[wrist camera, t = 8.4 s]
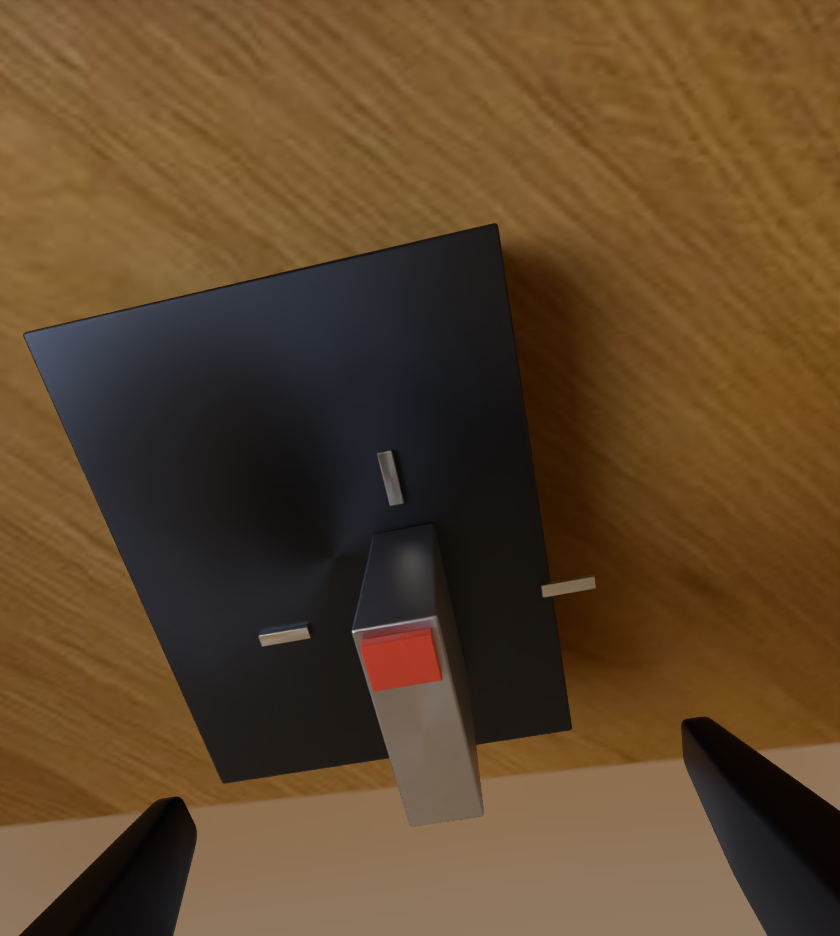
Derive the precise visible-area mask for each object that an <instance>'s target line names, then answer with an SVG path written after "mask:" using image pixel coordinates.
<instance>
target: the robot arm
mask: <svg viewBox="0 0 840 936" xmlns="http://www.w3.org/2000/svg"><path fill="white" fill-rule="evenodd" d="M681 731H682V747H683V758H684V762H685V766H686V769H687V771H688V773H689V776H690V778H691V780H692V782H693V785H694V787H695V789H696V791H697V793H698V796H699V798H700V800H701V803H702V805H703V807H704V809H705V812H706V814H707V816H708V818H709V821H710V823H711V825H712V827H713V830H714V832H715V834H716V836H717V838H718V841H719V843H720V845H721V847H722V849H723V852H724V854H725V856H726V858H727V861H728V863H729V865H730V867H731V869H732V871H733V874H734V876H735V877H736V879H737V881H738V883H739V885H740V887H741V889H742V891H743V893H744V895H745V896H746V898H747V900H748V902H749V903H750V905H751V907H752V909H753V910H754V912H755V914H756V916H757V918H758V920H759V921H760V923H761V925H762V927H763V929H764V930H765V932H766V934H767V936H840V811H839V810H838V809H836V808H835V807H834V806H832V805H831V804H829V803H828V802H827V801H825V800H824V799H822V798H821V797H820V796H818V795H817V794H815V793H814V792H813V791H811V790H810V789H808V788H807V787H805V786H804V785H803V784H801V783H800V782H799V781H797V780H796V779H794V778H793V777H791V776H790V775H789V774H787V773H786V772H785V771H783V770H782V769H780V768H779V767H778V766H776V765H774V764H773V763H772V762H770V761H769V760H768V759H766V758H765V757H764V756H762V755H761V754H759V753H758V752H757V751H755V750H754V749H752V748H751V747H750V746H748V745H747V744H745V743H744V742H743V741H741V740H740V739H738V738H737V737H736V736H734V735H733V734H731V733H730V732H729V731H727V730H726V729H724V728H723V727H722V726H720V725H719V724H717V723H716V722H715V721H713V720H712V719H710V718H708V717H696V718H690V719H685V720H683V721H682V724H681ZM196 839H197V830H196V826H195V824H194V821H193V819H192V817H191V815H190V813H189V811H188V809H187V807H186V805H185V803H184V801H183V799H181V798H180V797H170V798H163V799H159V800H157V801H155V802H154V803H153V804H152V805H151V806H150V807H149V808H148V809H147V810H146V811H145V812H144V813H143V814H142V815H141V816H140V817H139V818H138V819H137V820H136V821H135V822H134V823H132V825H131V826H129V828H127V830H126V831H124V833H122V834H121V835H120V836H119V837H118V838H117V839H116V840H115V841H114V842H113V843H112V844H111V845H110V846H109V847H108V848H107V849H106V850H105V851H104V852H103V853H102V854H101V855H100V856H99V857H98V858H97V859H96V860H95V861H94V862H93V863H92V864H91V865H90V866H89V867H88V868H87V869H86V870H85V871H84V872H83V873H82V874H81V875H80V876H79V877H78V878H77V879H76V880H75V881H74V882H73V883H72V884H71V885H70V886H69V887H68V888H67V889H66V890H65V891H64V892H63V893H62V894H61V895H60V896H59V897H58V898H57V899H56V900H55V901H54V902H53V903H52V904H51V905H50V906H49V907H48V908H47V909H46V910H45V911H44V912H42V913H41V914H40V915H39V916H38V917H37V919H35V920H34V921H33V922H32V923H31V924H30V925H29V926H28V928H26V929H25V930H24V931H23V932H22V933H21V934H20V935H19V936H173V934H174V930H175V926H176V922H177V918H178V914H179V910H180V906H181V902H182V898H183V894H184V890H185V886H186V882H187V878H188V874H189V869H190V866H191V862H192V858H193V853H194V849H195V845H196Z"/></svg>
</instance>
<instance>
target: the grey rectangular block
mask: <svg viewBox="0 0 840 936" xmlns="http://www.w3.org/2000/svg"><path fill="white" fill-rule="evenodd" d="M352 635H353V638H354V641H355V645H356V648H357V651H358V655H359V658H360V661H361V665H362V668H363V671H364V675H365V678H366V681H367V685H368V688H369V691H370V695H371V698H372V701H373V705H374V708H375V711H376V715H377V718H378V721H379V725H380V728H381V731H382V735H383V738H384V741H385V745H386V748H387V751H388V755H389V758H390V761H391V765H392V768H393V771H394V775H395V778H396V781H397V785H398V788H399V791H400V795H401V798H402V801H403V805H404V808H405V811H406V815H407V818H408V821H409V824H410V826H412V827H413V826H420V825H426V824H434V823H441V822H447V821H455V820H462V819H469V818H476V817H482V816H483V815H484V809H483V800H482V793H481V783H480V774H479V766H478V757H477V748H476V740H475V731H474V722H473V714H472V705H471V696H470V688H469V679H468V675H467V670H466V666H465V661H464V657H463V652H462V648H461V643H460V639H459V634H458V629H457V625H456V620H455V616H454V611H453V607H452V602H451V598H450V593H449V589H448V584H447V580H446V575H445V571H444V566H443V562H442V557H441V553H440V548H439V544H438V539H437V535H436V530H435V526H434V524H427V525H422V526H416V527H411V528H406V529H401V530H395V531H390V532H385V533H379V534H375V535H373V539H372V544H371V548H370V553H369V557H368V562H367V566H366V570H365V575H364V579H363V584H362V588H361V592H360V597H359V601H358V606H357V610H356V615H355V619H354V623H353V628H352Z"/></svg>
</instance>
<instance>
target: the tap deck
mask: <svg viewBox="0 0 840 936" xmlns="http://www.w3.org/2000/svg"><path fill="white" fill-rule="evenodd" d="M23 336H24V339H25V341H26V343H27V345H28V348H29V350H30V352H31V354H32V357H33V359H34V361H35V363H36V366H37V368H38V370H39V372H40V375H41V377H42V379H43V381H44V384H45V386H46V388H47V390H48V393H49V395H50V397H51V399H52V402H53V404H54V406H55V408H56V411H57V413H58V415H59V417H60V420H61V422H62V424H63V426H64V429H65V431H66V433H67V435H68V438H69V440H70V442H71V444H72V447H73V449H74V451H75V453H76V456H77V458H78V460H79V462H80V465H81V467H82V469H83V471H84V473H85V476H86V478H87V480H88V482H89V485H90V487H91V489H92V491H93V494H94V496H95V498H96V500H97V503H98V505H99V507H100V509H101V512H102V514H103V516H104V518H105V521H106V523H107V525H108V527H109V530H110V532H111V534H112V536H113V539H114V541H115V543H116V545H117V548H118V550H119V552H120V554H121V557H122V559H123V561H124V563H125V566H126V568H127V570H128V572H129V575H130V577H131V579H132V581H133V584H134V586H135V588H136V590H137V593H138V595H139V597H140V599H141V602H142V604H143V606H144V608H145V611H146V613H147V615H148V617H149V620H150V622H151V624H152V626H153V628H154V631H155V633H156V635H157V637H158V640H159V642H160V644H161V646H162V649H163V651H164V653H165V655H166V658H167V660H168V662H169V664H170V667H171V669H172V671H173V673H174V676H175V678H176V680H177V682H178V685H179V687H180V689H181V691H182V694H183V696H184V698H185V700H186V703H187V705H188V707H189V709H190V712H191V714H192V716H193V718H194V721H195V723H196V725H197V727H198V730H199V732H200V734H201V736H202V739H203V741H204V743H205V745H206V748H207V750H208V752H209V754H210V757H211V759H212V761H213V763H214V766H215V768H216V770H217V772H218V775H219V777H220V779H221V781H222V783H224V784H225V783H231V782H238V781H244V780H251V779H257V778H264V777H270V776H277V775H283V774H290V773H296V772H303V771H309V770H316V769H322V768H329V767H335V766H342V765H348V764H355V763H361V762H368V761H374V760H381V759H387V758H389V755H388V751H387V748H386V745H385V741H384V738H383V735H382V731H381V728H380V725H379V721H378V718H377V715H376V711H375V708H374V705H373V701H372V698H371V695H370V691H369V688H368V685H367V681H366V678H365V675H364V671H363V668H362V665H361V661H360V658H359V655H358V651H357V648H356V645H355V641H354V638H353V635H352V628H353V623H354V619H355V615H356V610H357V606H358V601H359V597H360V592H361V588H362V584H363V579H364V575H365V570H366V566H367V562H368V557H369V553H370V548H371V544H372V539H373V535H375V534H379V533H385V532H390V531H395V530H401V529H406V528H411V527H416V526H422V525H427V524H434V526H435V530H436V535H437V539H438V544H439V548H440V553H441V557H442V562H443V566H444V571H445V575H446V580H447V584H448V589H449V593H450V598H451V602H452V607H453V611H454V616H455V620H456V625H457V629H458V634H459V639H460V643H461V648H462V652H463V657H464V661H465V666H466V670H467V675H468V679H469V688H470V696H471V705H472V714H473V722H474V731H475V740H476V745H478V744H485V743H491V742H498V741H504V740H511V739H517V738H524V737H530V736H537V735H543V734H550V733H556V732H563V731H569V730H572V723H571V716H570V710H569V703H568V696H567V689H566V682H565V676H564V669H563V662H562V655H561V649H560V642H559V635H558V628H557V621H556V615H555V608H554V601H553V596H555V595H561V594H566V593H572V592H578V591H583V590H589V589H595V588H596V587H595V578H594V576H593V574H590V575H584V576H578V577H573V578H567V579H561V580H556V581H550V574H549V567H548V560H547V554H546V547H545V540H544V533H543V527H542V520H541V513H540V506H539V499H538V493H537V486H536V479H535V472H534V466H533V459H532V452H531V445H530V438H529V432H528V425H527V418H526V411H525V404H524V398H523V391H522V384H521V377H520V371H519V364H518V357H517V350H516V343H515V337H514V330H513V323H512V316H511V310H510V303H509V296H508V289H507V282H506V276H505V269H504V262H503V255H502V249H501V242H500V235H499V228H498V225H497V224H496V223H493V224H488V225H484V226H480V227H476V228H471V229H467V230H463V231H458V232H454V233H450V234H445V235H441V236H437V237H433V238H428V239H424V240H420V241H415V242H411V243H407V244H403V245H398V246H394V247H390V248H385V249H381V250H377V251H372V252H368V253H364V254H360V255H355V256H351V257H347V258H342V259H338V260H334V261H329V262H325V263H321V264H317V265H312V266H308V267H304V268H299V269H295V270H291V271H286V272H282V273H278V274H274V275H269V276H265V277H261V278H256V279H252V280H248V281H243V282H239V283H235V284H231V285H226V286H222V287H218V288H213V289H209V290H205V291H201V292H196V293H192V294H188V295H183V296H179V297H175V298H170V299H166V300H162V301H158V302H153V303H149V304H145V305H140V306H136V307H132V308H127V309H123V310H119V311H115V312H110V313H106V314H102V315H97V316H93V317H89V318H84V319H80V320H76V321H72V322H67V323H63V324H59V325H54V326H50V327H46V328H41V329H37V330H33V331H29V332H25V333H24V334H23Z"/></svg>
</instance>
